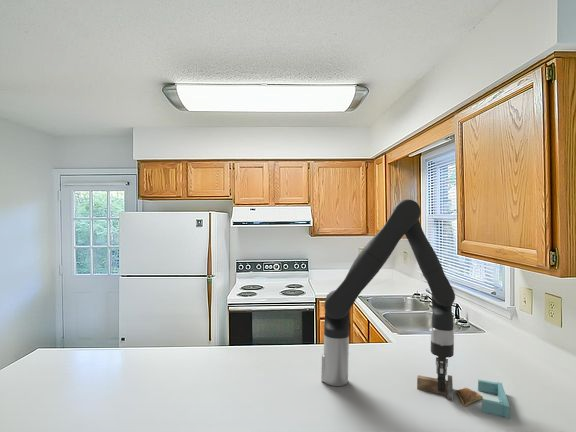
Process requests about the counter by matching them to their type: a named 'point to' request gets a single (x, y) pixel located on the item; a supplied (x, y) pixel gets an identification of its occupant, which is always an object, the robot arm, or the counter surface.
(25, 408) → the counter surface
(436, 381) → the hammer
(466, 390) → the shard
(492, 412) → the u-shaped bracket
